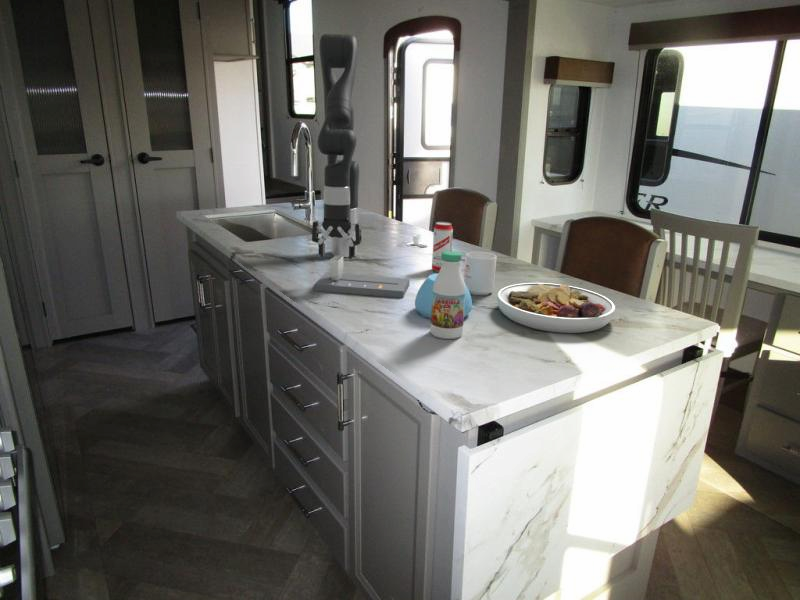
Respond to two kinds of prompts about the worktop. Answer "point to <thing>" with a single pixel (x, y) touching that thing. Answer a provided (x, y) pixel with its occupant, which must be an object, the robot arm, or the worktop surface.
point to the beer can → (441, 243)
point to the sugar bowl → (425, 298)
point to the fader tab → (336, 267)
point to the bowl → (555, 307)
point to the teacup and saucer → (417, 241)
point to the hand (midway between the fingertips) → (336, 257)
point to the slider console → (363, 285)
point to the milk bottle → (448, 298)
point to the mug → (480, 272)
